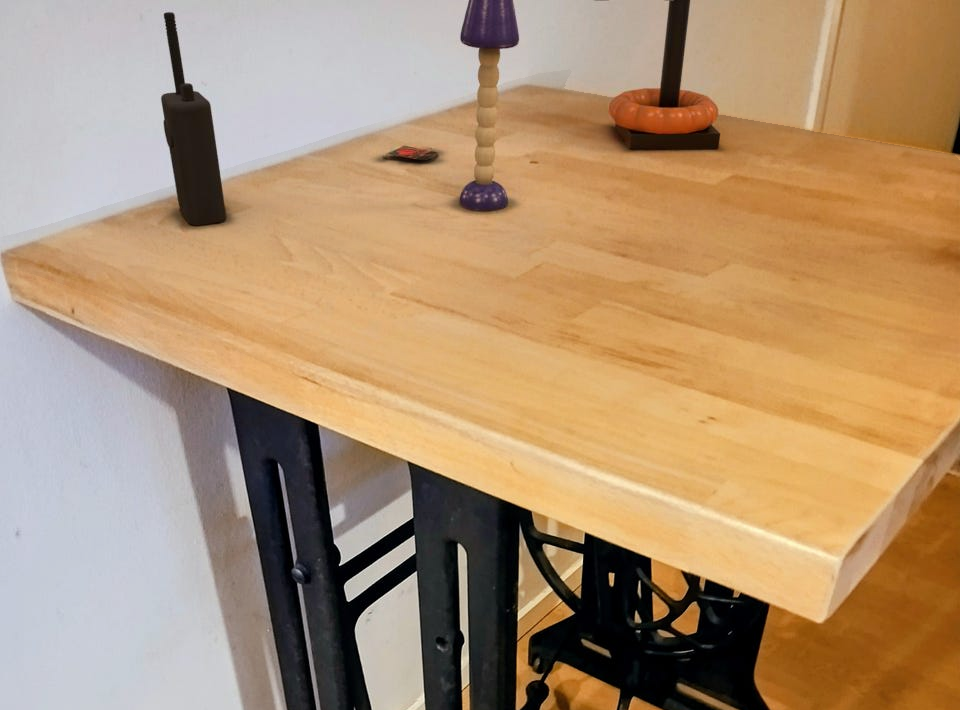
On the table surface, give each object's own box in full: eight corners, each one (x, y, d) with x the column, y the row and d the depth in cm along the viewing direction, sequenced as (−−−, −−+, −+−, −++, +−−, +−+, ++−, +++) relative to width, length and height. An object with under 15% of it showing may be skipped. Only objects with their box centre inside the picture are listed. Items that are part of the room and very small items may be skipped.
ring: (701, 109, 109) (704, 85, 108) (726, 136, 101) (730, 110, 99) (601, 110, 109) (603, 86, 107) (618, 137, 100) (620, 111, 99)
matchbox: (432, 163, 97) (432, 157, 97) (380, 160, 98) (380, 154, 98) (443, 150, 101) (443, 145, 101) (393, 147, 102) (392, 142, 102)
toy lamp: (516, 197, 90) (522, -19, 80) (512, 214, 86) (518, -10, 76) (462, 195, 90) (461, -20, 80) (456, 212, 86) (454, -12, 76)
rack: (697, 126, 110) (715, -17, 102) (718, 149, 103) (739, -3, 95) (614, 126, 109) (626, -17, 101) (629, 150, 102) (643, -3, 94)
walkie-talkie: (228, 221, 84) (200, 18, 75) (187, 227, 83) (153, 21, 74) (214, 204, 87) (185, 8, 78) (174, 210, 86) (140, 11, 77)
